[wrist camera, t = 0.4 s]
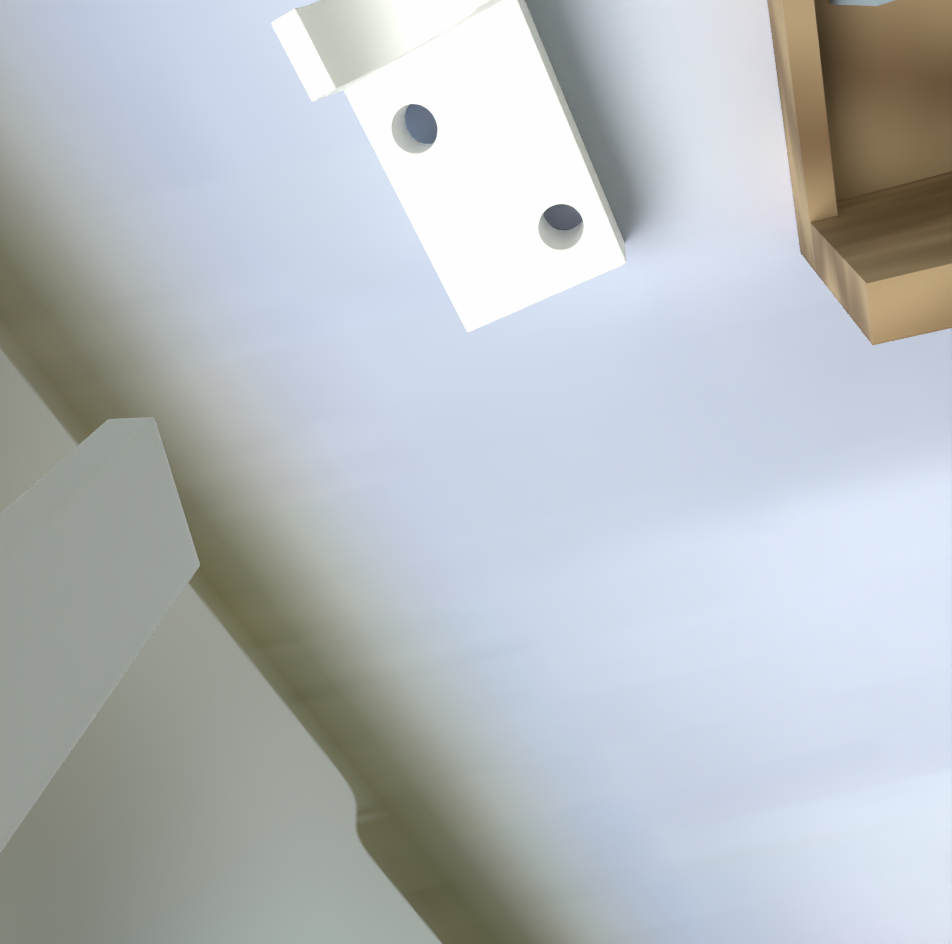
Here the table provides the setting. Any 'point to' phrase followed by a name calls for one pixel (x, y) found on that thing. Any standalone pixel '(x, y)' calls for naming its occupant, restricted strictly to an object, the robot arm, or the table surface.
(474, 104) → the bracket
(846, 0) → the block
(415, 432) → the table surface
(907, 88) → the tray
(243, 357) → the table surface
